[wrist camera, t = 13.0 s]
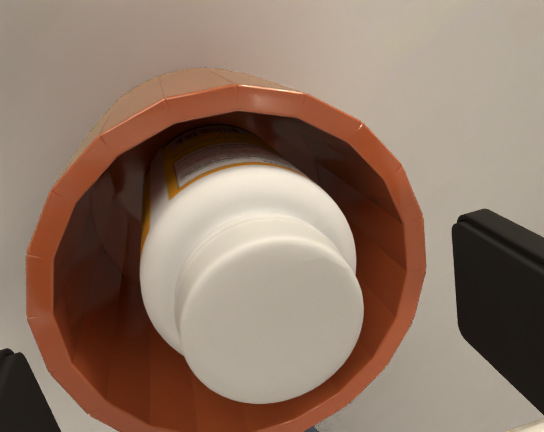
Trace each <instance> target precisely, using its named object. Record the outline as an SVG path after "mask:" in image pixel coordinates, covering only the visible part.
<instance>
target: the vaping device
mask: <svg viewBox="0 0 544 432" xmlns="http://www.w3.org/2000/svg"><path fill="white" fill-rule="evenodd" d="M304 432H317V430H316V429H315V428H314V426H313V427H311V428H309V429H308V430H306V431H304Z"/></svg>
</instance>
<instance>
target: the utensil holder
mask: <svg viewBox="0 0 544 432" xmlns="http://www.w3.org/2000/svg"><path fill="white" fill-rule="evenodd" d="M213 123H218V124H229V125H233V126H237V127H240V128H243V129H245V130H248V131H250V132H252V133H253V134H255V135H257V136H259V137H260V138H261V139H263V140H264V141H265V142H266V143H267V144H268V145H270V146H271V147H272V148H273V149H275V150H276V151H277V152H278V153H279V154H281V155H282V156H283V157H285V158H286V159H287V160H288V161H290V162H291V163H292V164H293V165H294V166H295V167H296V168H298V169H299V170H300V171H301V172H302V173H304V174H305V175H306V176H307V177H308V178H310V179H311V180H312V181H314V182H315V183H316V184H317V185H318V186H320V187H321V188H322V189H323V190H324V191H325V192H326V193H327V194H328V195H329V196H330V197H331V198H332V199H333V201H334V202H335V203H336V204H337V205H338V207H339V208H340V210H341V211H342V213H343V214H344V216H345V218H346V220H347V222H348V225H349V227H350V229H351V232H352V235H353V239H354V244H355V250H356V275H355V276H356V278H357V280H358V282H359V285H360V288H361V291H362V296H363V304H364V316H363V323H362V328H361V332H360V335H359V338H358V340H357V342H356V345H355V347H354V349H353V350H352V352H351V354H350V356H349V357H348V358H347V360H346V361H345V363H344V364H343V365H342V366H341V367H340V368H339V369H338V370H337V371H336V372H335V373H334V374H333V375H332V376H331V377H330V378H329V379H327V380H326V381H325V382H324V383H322V384H321V385H319V386H318V387H316V388H314V389H313V390H311V391H309V392H307V393H305V394H303V395H301V396H298V397H295V398H292V399H289V400H285V401H281V402H276V403H268V404H252V403H244V402H239V401H235V400H232V399H229V398H226V397H223V396H221V395H219V394H217V393H216V392H214V391H212V390H211V389H209V388H208V387H207V386H206V385H204V384H203V383H202V382H201V381H200V380H199V379H198V378H197V377H196V375H195V374H194V373H193V371H192V370H191V369H190V367H189V365H188V363H187V362H186V359H185V357H184V356H183V355H182V354H180V353H179V352H177V351H176V350H175V349H174V348H172V347H171V346H170V345H169V344H168V343H167V342H166V341H165V340H164V339H163V338H162V337H161V335H160V334H159V333H158V331H157V330H156V329H155V327H154V326H153V324H152V322H151V320H150V318H149V316H148V314H147V311H146V309H145V306H144V302H143V299H142V293H141V284H140V250H141V224H142V194H143V185H144V180H145V176H146V173H147V170H148V168H149V165H150V163H151V161H152V160H153V158H154V156H155V155H156V154H157V152H158V151H159V150H160V149H161V148H162V146H163V145H165V144H166V143H167V142H168V141H169V140H170V139H171V138H173V137H174V136H176V135H177V134H179V133H181V132H183V131H185V130H187V129H189V128H192V127H195V126H199V125H204V124H213ZM422 216H423V214H422V212H421V209H420V207H419V205H418V202H417V200H416V197H415V195H414V192H413V190H412V188H411V185H410V183H409V180H408V178H407V176H406V173H405V171H404V168H403V167H402V164H401V163H400V162H399V161H398V160H397V159H396V158H395V156H394V155H393V154H392V153H391V152H390V151H389V150H388V149H387V148H386V147H385V146H384V145H383V143H382V142H381V141H380V140H379V139H378V138H377V137H376V136H375V135H374V134H373V133H372V132H371V130H370V129H369V128H368V127H367V126H366V125H365V124H364V123H362V122H361V121H360V120H358V119H356V118H354V117H352V116H350V115H348V114H346V113H344V112H342V111H340V110H338V109H336V108H335V107H333V106H331V105H329V104H327V103H325V102H323V101H321V100H319V99H317V98H315V97H313V96H311V95H309V94H307V93H304V92H301V91H298V90H295V89H292V88H289V87H286V86H283V85H280V84H277V83H274V82H271V81H268V80H265V79H262V78H259V77H256V76H253V75H250V74H246V73H242V72H235V71H229V70H224V69H217V68H206V67H204V68H193V69H183V70H179V71H174V72H170V73H166V74H163V75H160V76H157V77H155V78H153V79H150V80H148V81H146V82H144V83H142V84H141V85H139V86H137V87H135V88H133V89H132V90H131V91H129V92H128V93H127V94H125V95H123V96H121V97H120V98H119V99H118V100H117V101H116V102H115V103H114V104H113V105H112V106H111V108H110V109H109V110H107V111H106V113H105V114H104V115H103V117H102V118H101V119H100V120H99V121H98V123H97V124H96V125H95V126H94V127H93V128H92V129H91V131H90V132H89V134H88V135H87V137H86V138H85V140H84V141H83V142H82V144H81V145H80V147H79V148H78V150H77V151H76V153H75V154H74V156H73V157H72V159H71V160H70V162H69V163H68V165H67V166H66V168H65V169H64V171H63V172H62V174H61V175H60V177H59V178H58V180H57V181H56V182H55V184H54V185H53V187H52V189H51V190H50V192H49V194H48V197H47V199H46V202H45V204H44V207H43V210H42V212H41V215H40V218H39V220H38V223H37V225H36V228H35V231H34V233H33V236H32V239H31V241H30V244H29V246H28V249H27V255H26V315H27V321H28V323H29V326H30V328H31V331H32V333H33V336H34V338H35V340H36V343H37V345H38V348H39V350H40V353H41V355H42V357H43V360H44V362H45V365H46V367H47V370H48V372H49V373H50V374H51V376H52V377H53V378H54V379H55V380H56V381H57V382H58V383H59V384H60V385H61V386H62V387H63V388H64V390H65V391H66V392H67V393H68V394H69V395H70V396H71V397H72V398H73V399H74V400H75V401H76V402H77V403H78V405H79V406H80V407H81V408H82V409H83V410H84V411H85V412H86V413H87V414H90V416H91V417H93V418H95V419H97V420H99V421H100V422H102V423H104V424H106V425H108V426H110V427H112V428H114V429H115V430H117V431H119V432H304V431H306V430H308V429H309V428H311V427H313V426H314V425H316V424H317V423H319V422H321V421H322V420H324V419H326V418H327V417H329V416H331V415H332V414H334V413H336V412H337V411H339V410H341V409H342V408H344V407H346V406H347V405H348V404H349V403H351V402H352V401H353V400H354V399H355V398H356V397H357V396H358V395H359V394H360V393H361V392H362V391H363V390H364V389H365V388H366V387H367V386H368V385H369V384H370V383H371V382H372V381H373V380H374V379H375V378H376V377H377V376H378V375H379V374H380V373H381V372H382V371H383V370H384V369H385V366H387V365H388V363H389V362H390V360H391V358H392V357H393V355H394V353H395V351H396V350H397V348H398V346H399V345H400V343H401V341H402V340H403V338H404V336H405V334H406V333H407V331H408V329H409V328H410V326H411V324H412V320H413V319H414V317H415V313H416V309H417V305H418V301H419V297H420V293H421V289H422V285H423V282H424V278H425V274H426V270H425V269H426V253H425V235H424V219H423V217H422ZM347 403H348V404H347Z"/></svg>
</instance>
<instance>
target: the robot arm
mask: <svg viewBox="0 0 544 432" xmlns="http://www.w3.org/2000/svg"><path fill="white" fill-rule="evenodd" d="M452 243H453V258H454V273H455V288H456V303H457V318H458V327H459V330H460V332H461V334H462V336H463V338H464V339H465V340H466V341H467V342H468V343H469V344H470V345H471V346H472V347H473V348H474V349H475V350H476V351H477V352H478V353H479V354H481V355H482V356H483V357H484V358H485V359H486V360H487V361H488V362H489V363H490V364H491V365H492V366H493V367H494V368H495V369H496V370H497V371H498V372H499V373H500V374H501V375H502V376H503V377H504V378H506V379H507V380H508V381H509V382H510V383H511V384H512V385H513V386H514V387H515V388H516V389H517V390H518V391H519V392H520V393H521V394H522V395H523V396H524V397H525V398H526V399H527V400H528V401H530V402H531V403H532V404H533V405H534V406H535V407H536V408H537V409H538V410H539V411H540V412H541V413H542V414H543V415H544V238H543V237H541V236H540V235H538V234H536V233H534V232H532V231H530V230H528V229H526V228H524V227H522V226H520V225H518V224H516V223H514V222H512V221H510V220H508V219H506V218H504V217H502V216H500V215H498V214H496V213H494V212H492V211H490V210H488V209H481V210H477V211H474V212H471V213H467V214H464V215H460V216H459V218H458V220H457V223H456V224H454V225H453V226H452ZM0 432H61V430H60V428H59V426H58V424H57V422H56V420H55V418H54V416H53V414H52V412H51V409H50V407H49V405H48V403H47V401H46V399H45V397H44V395H43V393H42V391H41V389H40V387H39V384H38V382H37V380H36V378H35V376H34V374H33V372H32V370H31V368H30V366H29V364H28V362H27V359H26V358H25V356H24V355H23V354H22V353H20V352H19V353H15V354H14V352H13V351H12V350H11V349H8V348H6V349H3V350H0ZM506 432H544V418H542V419H539V420H536V421H533V422H531V423H528V424H525V425H522V426H519V427H517V428H514V429H511V430H508V431H506Z"/></svg>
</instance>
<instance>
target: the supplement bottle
mask: <svg viewBox="0 0 544 432" xmlns="http://www.w3.org/2000/svg"><path fill="white" fill-rule="evenodd" d="M355 275H356V250H355V244H354V239H353V235H352V232H351V229H350V227H349V225H348V222H347V220H346V218H345V216H344V214H343V213H342V211H341V210H340V208H339V207H338V205H337V204H336V203H335V202H334V201H333V199H332V198H331V197H330V196H329V195H328V194H327V193H326V192H325V191H324V190H323V189H322V188H321V187H320V186H318V185H317V184H316V183H315V182H314V181H312V180H311V179H310V178H308V177H307V176H306V175H305V174H304V173H302V172H301V171H300V170H299V169H298V168H296V167H295V166H294V165H293V164H292V163H291V162H290V161H288V160H287V159H286V158H285V157H283V156H282V155H281V154H279V153H278V152H277V151H276V150H275V149H273V148H272V147H271V146H270V145H268V144H267V143H266V142H265V141H264V140H263V139H261V138H260V137H259V136H257V135H255V134H253V133H252V132H250V131H248V130H245V129H243V128H240V127H237V126H233V125H229V124H218V123H213V124H204V125H199V126H195V127H192V128H189V129H187V130H185V131H183V132H181V133H179V134H177V135H176V136H174V137H173V138H171V139H170V140H169V141H168V142H167V143H166V144H165V145H163V146H162V148H161V149H160V150H159V151H158V152H157V154H156V155H155V156H154V158H153V160H152V161H151V163H150V165H149V168H148V170H147V173H146V176H145V180H144V185H143V194H142V224H141V250H140V284H141V293H142V299H143V302H144V306H145V309H146V311H147V314H148V316H149V318H150V320H151V322H152V324H153V326H154V327H155V329H156V330H157V331H158V333H159V334H160V335H161V337H162V338H163V339H164V340H165V341H166V342H167V343H168V344H169V345H170V346H171V347H172V348H174V349H175V350H176V351H177V352H179V353H180V354H182V355H183V356H184V357H185V359H186V362H187V363H188V365H189V367H190V369H191V370H192V371H193V373H194V374H195V375H196V377H197V378H198V379H199V380H200V381H201V382H202V383H203V384H204V385H206V386H207V387H208V388H209V389H211V390H212V391H214V392H216V393H217V394H219V395H221V396H223V397H226V398H229V399H232V400H235V401H239V402H244V403H252V404H268V403H276V402H281V401H285V400H289V399H292V398H295V397H298V396H301V395H303V394H305V393H307V392H309V391H311V390H313V389H314V388H316V387H318V386H319V385H321V384H322V383H324V382H325V381H326V380H327V379H329V378H330V377H331V376H332V375H333V374H334V373H335V372H336V371H337V370H338V369H339V368H340V367H341V366H342V365H343V364H344V363H345V361H346V360H347V358H348V357H349V356H350V354H351V352H352V350H353V349H354V347H355V345H356V342H357V340H358V338H359V335H360V332H361V328H362V323H363V316H364V304H363V296H362V291H361V288H360V285H359V282H358V280H357V278H356V276H355Z"/></svg>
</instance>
